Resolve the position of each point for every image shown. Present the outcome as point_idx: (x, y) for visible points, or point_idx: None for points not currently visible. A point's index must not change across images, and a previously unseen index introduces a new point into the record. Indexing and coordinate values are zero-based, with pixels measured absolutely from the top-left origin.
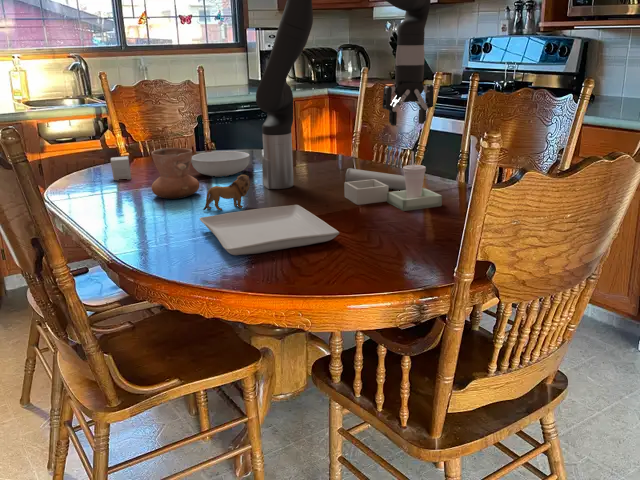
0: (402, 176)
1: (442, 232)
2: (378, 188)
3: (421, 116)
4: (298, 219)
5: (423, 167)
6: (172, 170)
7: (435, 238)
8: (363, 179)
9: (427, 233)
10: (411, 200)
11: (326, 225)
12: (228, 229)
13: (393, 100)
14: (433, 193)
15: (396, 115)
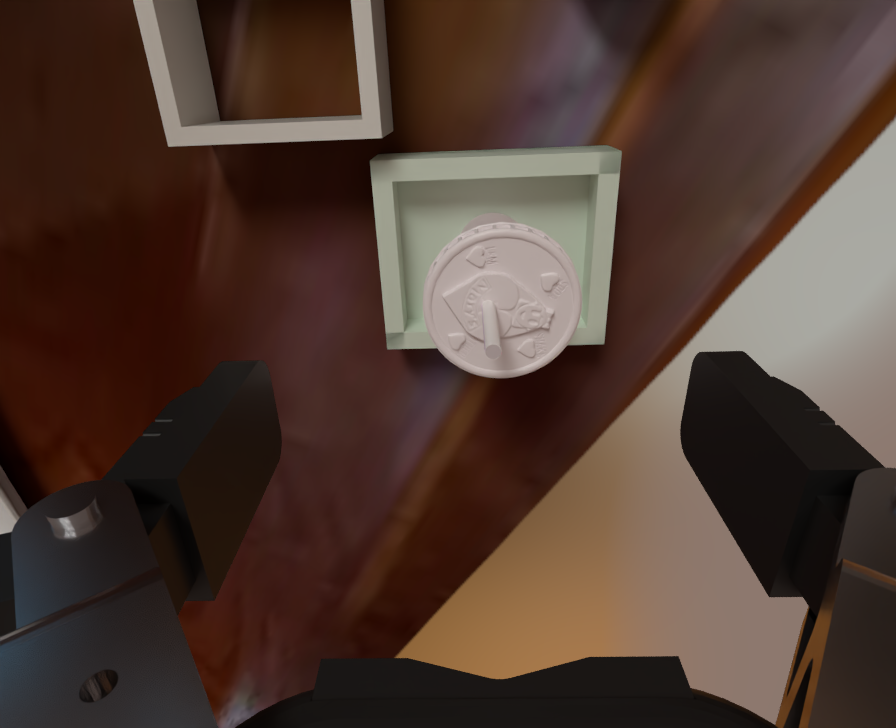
0: None
1: (416, 576)
2: (314, 140)
3: (726, 485)
4: None
5: (554, 337)
6: None
7: (371, 607)
8: None
9: (368, 569)
10: (432, 345)
11: (12, 518)
12: None
13: (20, 687)
14: (591, 291)
15: (231, 553)
